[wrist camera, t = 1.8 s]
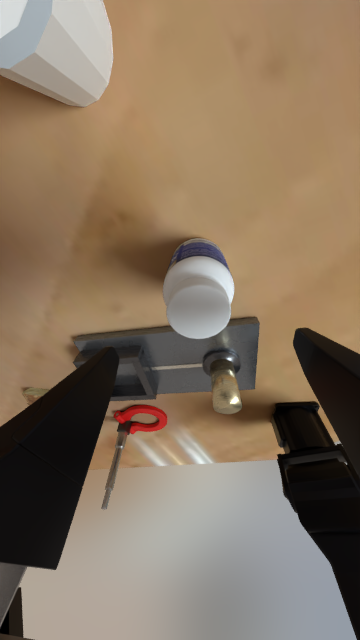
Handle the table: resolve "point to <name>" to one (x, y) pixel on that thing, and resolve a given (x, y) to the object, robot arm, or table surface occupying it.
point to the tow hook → (124, 430)
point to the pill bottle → (198, 289)
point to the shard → (33, 394)
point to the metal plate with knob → (180, 362)
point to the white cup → (57, 47)
